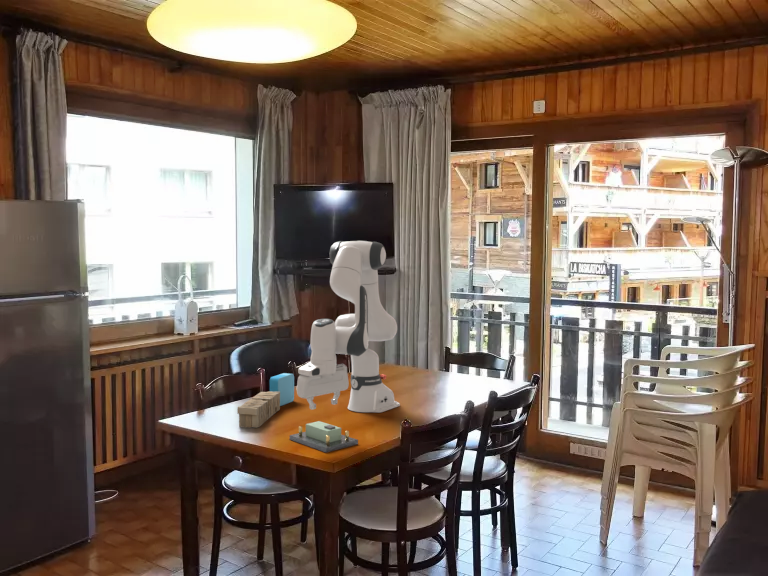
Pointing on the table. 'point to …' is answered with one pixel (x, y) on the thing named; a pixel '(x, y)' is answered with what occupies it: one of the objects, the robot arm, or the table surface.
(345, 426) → the table surface
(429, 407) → the table surface
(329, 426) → the pale green block
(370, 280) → the robot arm
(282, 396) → the data package
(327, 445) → the plate
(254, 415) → the block tower
